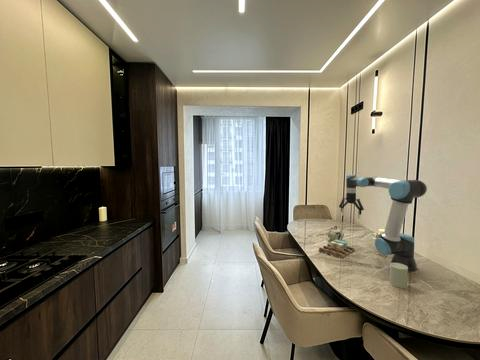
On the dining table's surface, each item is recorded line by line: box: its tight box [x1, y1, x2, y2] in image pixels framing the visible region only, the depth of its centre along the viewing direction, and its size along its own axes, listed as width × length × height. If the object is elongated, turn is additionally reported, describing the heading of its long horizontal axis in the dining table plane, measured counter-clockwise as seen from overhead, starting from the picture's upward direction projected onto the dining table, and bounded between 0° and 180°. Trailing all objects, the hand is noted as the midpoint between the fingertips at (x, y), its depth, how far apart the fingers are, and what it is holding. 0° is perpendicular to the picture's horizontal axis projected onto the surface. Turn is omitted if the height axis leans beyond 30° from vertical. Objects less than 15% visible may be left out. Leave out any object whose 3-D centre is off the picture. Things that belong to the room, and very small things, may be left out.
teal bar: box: [334, 240, 348, 249], centre depth 196 cm, size 10×4×6 cm, turn 38°
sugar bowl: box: [326, 225, 345, 242], centre depth 218 cm, size 20×15×15 cm
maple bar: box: [329, 241, 344, 251], centre depth 191 cm, size 10×4×6 cm, turn 39°
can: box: [388, 262, 409, 289], centre depth 137 cm, size 9×9×12 cm
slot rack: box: [317, 243, 356, 259], centre depth 192 cm, size 20×24×3 cm
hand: (350, 216), depth 194 cm, fingers open, 13 cm apart
